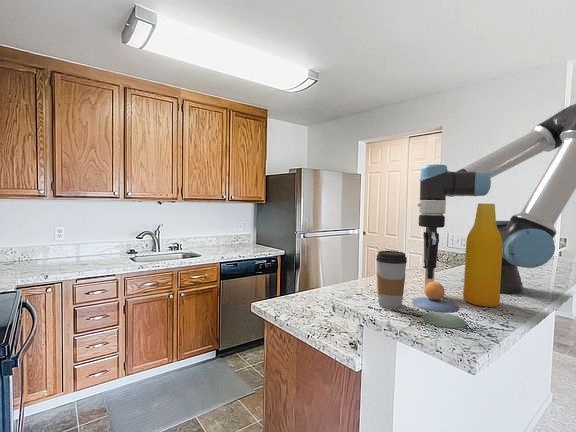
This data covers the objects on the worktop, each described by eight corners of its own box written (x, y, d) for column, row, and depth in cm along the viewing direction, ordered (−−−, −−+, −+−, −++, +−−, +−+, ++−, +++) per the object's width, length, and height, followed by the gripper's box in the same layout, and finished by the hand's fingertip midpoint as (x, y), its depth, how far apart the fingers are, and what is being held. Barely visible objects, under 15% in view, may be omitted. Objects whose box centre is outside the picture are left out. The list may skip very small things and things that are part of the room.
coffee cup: (407, 311, 86) (409, 256, 85) (375, 308, 87) (377, 254, 86) (403, 301, 94) (404, 251, 93) (373, 299, 95) (375, 249, 95)
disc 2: (450, 312, 85) (450, 311, 85) (475, 327, 75) (475, 327, 75) (414, 313, 84) (414, 312, 84) (435, 328, 74) (435, 327, 74)
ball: (444, 278, 95) (445, 294, 91) (443, 289, 98) (444, 305, 95) (424, 277, 97) (424, 292, 93) (424, 287, 100) (424, 302, 97)
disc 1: (442, 298, 98) (442, 297, 98) (468, 312, 86) (468, 311, 86) (405, 298, 97) (405, 297, 97) (425, 312, 85) (425, 311, 85)
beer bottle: (507, 307, 89) (513, 204, 89) (475, 306, 89) (481, 203, 88) (485, 298, 99) (490, 204, 98) (456, 297, 98) (461, 203, 97)
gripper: (416, 213, 108) (413, 281, 109) (421, 215, 95) (418, 292, 97) (440, 213, 106) (437, 283, 107) (449, 215, 93) (446, 295, 95)
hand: (428, 287), depth 102 cm, fingers closed
